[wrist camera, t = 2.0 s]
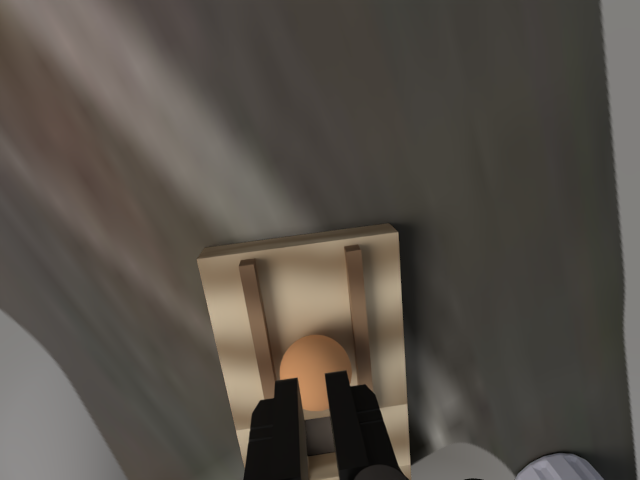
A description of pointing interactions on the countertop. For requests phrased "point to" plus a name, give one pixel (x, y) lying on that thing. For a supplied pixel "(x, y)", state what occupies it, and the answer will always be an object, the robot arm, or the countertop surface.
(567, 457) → the soap bottle
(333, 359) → the ball
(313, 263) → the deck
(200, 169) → the countertop surface
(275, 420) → the robot arm
